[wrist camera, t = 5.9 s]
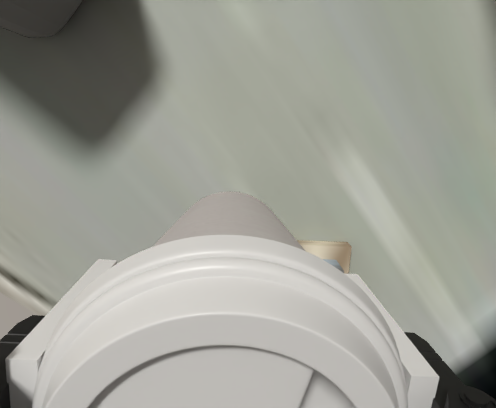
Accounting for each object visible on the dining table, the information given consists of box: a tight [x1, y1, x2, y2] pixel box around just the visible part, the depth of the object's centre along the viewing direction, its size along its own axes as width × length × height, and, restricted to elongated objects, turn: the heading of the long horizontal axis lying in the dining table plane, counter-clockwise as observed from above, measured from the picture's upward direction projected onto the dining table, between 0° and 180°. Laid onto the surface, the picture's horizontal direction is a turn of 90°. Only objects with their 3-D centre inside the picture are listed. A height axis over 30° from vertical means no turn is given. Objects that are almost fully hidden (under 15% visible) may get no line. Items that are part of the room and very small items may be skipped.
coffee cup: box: [32, 191, 408, 408], centre depth 15 cm, size 10×10×15 cm
